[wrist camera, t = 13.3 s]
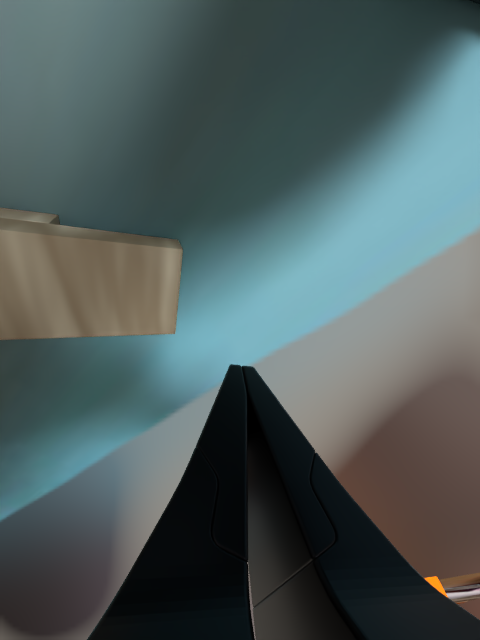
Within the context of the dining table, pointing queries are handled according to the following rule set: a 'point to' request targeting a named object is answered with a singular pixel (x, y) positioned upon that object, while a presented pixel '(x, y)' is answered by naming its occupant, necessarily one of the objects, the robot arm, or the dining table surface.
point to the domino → (85, 282)
